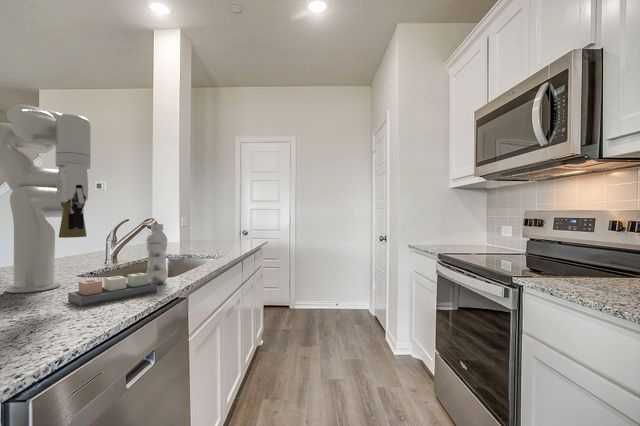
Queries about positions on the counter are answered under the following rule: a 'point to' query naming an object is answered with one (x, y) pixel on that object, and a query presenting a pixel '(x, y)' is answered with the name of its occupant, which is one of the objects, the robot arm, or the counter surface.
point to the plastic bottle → (156, 255)
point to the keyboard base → (110, 295)
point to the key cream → (115, 283)
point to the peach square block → (90, 287)
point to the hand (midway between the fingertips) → (73, 228)
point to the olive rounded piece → (64, 229)
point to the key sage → (137, 279)
